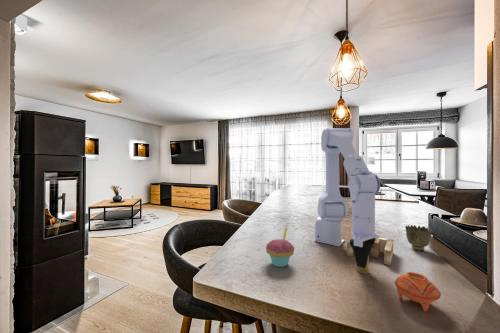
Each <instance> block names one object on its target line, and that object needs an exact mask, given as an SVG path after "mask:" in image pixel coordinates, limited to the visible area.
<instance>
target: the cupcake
mask: <svg viewBox="0 0 500 333" xmlns="http://www.w3.org/2000/svg"><path fill="white" fill-rule="evenodd" d="M287 226H288V224H286V226H284V231H283V236H282V238H278V239H272V240H270V241H269V242H268V243H266V246H265V251H266V253H267V254H268V255H269V256H270V261H271V263H272V265H273V266H275V267H278V268H283V267H287V266H288V265H289V262H290V258H291V256H294V254H295V253H294V252H295V246H294V245H293V244H292V242H289V241H288V240H286V237H287V230H288V228H287Z"/></svg>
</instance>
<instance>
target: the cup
mask: <svg viewBox="0 0 500 333" xmlns="http://www.w3.org/2000/svg"><path fill="white" fill-rule="evenodd" d="M432 231H433V229H429V228H428V227H425V226H420V225H418V226H417V225H412V224H411V225H409V224H408V225H407V224H406V225H405V233H406V234H405V236H406V240H407V241H408V243H409V244H411V249H412V250H414V251H417V252H424V251H425V248H426V247H427V246H428V245H429V244H430V241H431V237H432Z"/></svg>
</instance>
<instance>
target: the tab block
mask: <svg viewBox="0 0 500 333" xmlns="http://www.w3.org/2000/svg"><path fill="white" fill-rule="evenodd" d="M380 255H381V252H380V239H377V238H376V240H375V242H374V244H373V247H372V248H371V252H370V257H369V255H368V261H367V265H366V268H362V267H358V266H357V265H356V272H357V273H359V274H361V275H368V274H369V271H370V270H369V269H370V268H369V267H370V266H369V265H370V264H369V263H370V258H374V259H379V257H380Z"/></svg>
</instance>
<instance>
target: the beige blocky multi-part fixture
mask: <svg viewBox="0 0 500 333" xmlns="http://www.w3.org/2000/svg"><path fill="white" fill-rule="evenodd" d="M351 239H354V238H353V236H352V235H351V236H350V238H349V239H348V240H347V242H346V256H348V257H353V256H355V254H354V251H353V249H352V247H351V245H350V240H351ZM377 239H380V253H383V252H384V253H383V254H384V255H383V256H384V257H383V260H384V261H383V264H386V265H385V266H388V265H390V266H389V267H391V265H392V261H393V255H394V239H391V238H390V239H389V238H384V237H379V238H377Z"/></svg>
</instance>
